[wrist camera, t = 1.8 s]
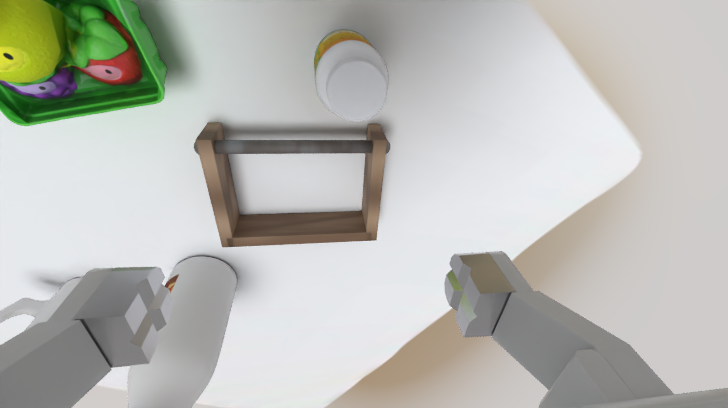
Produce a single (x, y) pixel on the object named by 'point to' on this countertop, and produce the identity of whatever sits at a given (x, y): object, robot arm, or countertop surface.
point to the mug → (39, 305)
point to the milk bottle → (186, 336)
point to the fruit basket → (75, 59)
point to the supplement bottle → (350, 76)
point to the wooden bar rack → (290, 225)
